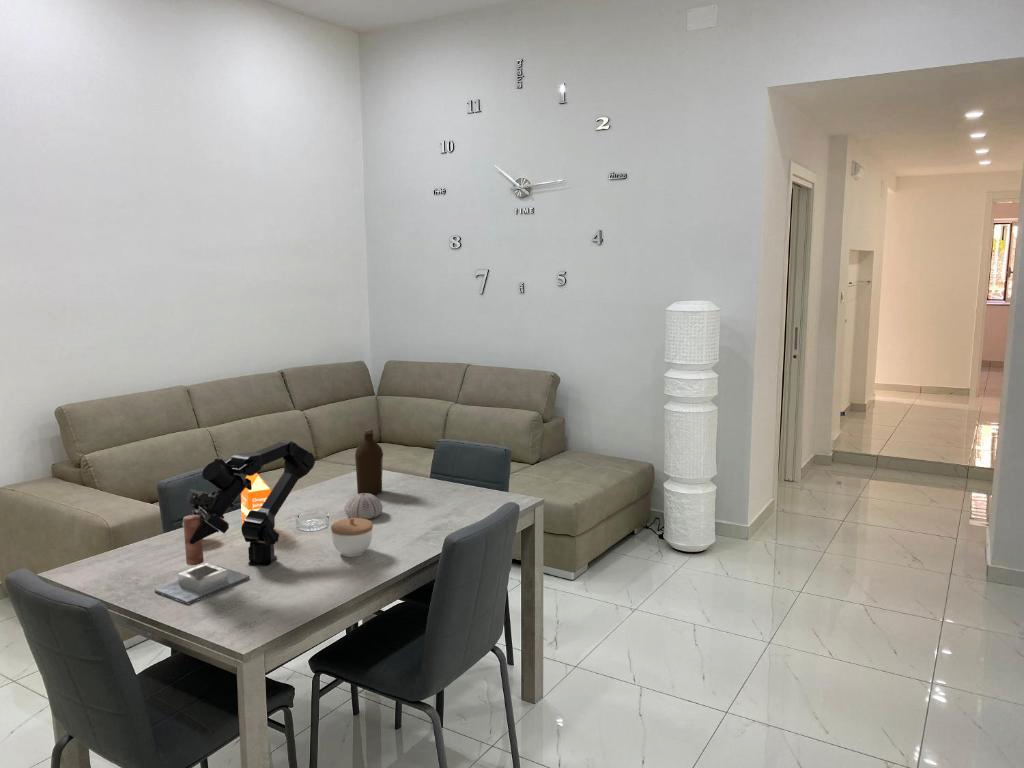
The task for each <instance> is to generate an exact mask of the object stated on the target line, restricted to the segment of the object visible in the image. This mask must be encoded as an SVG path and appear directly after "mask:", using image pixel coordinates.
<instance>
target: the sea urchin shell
mask: <svg viewBox="0 0 1024 768" xmlns="http://www.w3.org/2000/svg"><path fill="white" fill-rule="evenodd" d="M344 512H345V515H346V516H347V517H348V518H362V519H367V520H371V519H374V518H377V517H379V516H380V515H381V514H382V512H383V504H382V502H381V500H380V499H379V498H378V497H377V495H372V494H369V493H361V494H358V493H357V494H356V495H353V496H352V497H351V498H349V500H347V502H346V504H345V507H344Z"/></svg>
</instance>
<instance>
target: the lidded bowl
mask: <svg viewBox="0 0 1024 768" xmlns="http://www.w3.org/2000/svg"><path fill="white" fill-rule="evenodd" d="M373 525H374V524H373V522H372V520H371V519H362V518H350V517H348V518H344V519H338V520H337V521H334V522H333V523H332V524H331V525H330V530H331V538H332V539H331V540H332V544H333V545H334V548H335V549H336V550H337V552H338V553H340V555H341V556H342V557H346V558H354V557H355V556H356V557H360V556H363V555H364V554H365V552H366V551H367V550H368V549H369V547H370V545H371V544H372V543H371V542H372V539H373V527H374V526H373ZM363 553H364V554H363ZM356 557H355V558H356Z"/></svg>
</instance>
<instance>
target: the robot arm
mask: <svg viewBox="0 0 1024 768" xmlns="http://www.w3.org/2000/svg"><path fill="white" fill-rule="evenodd" d="M279 459H282V460H283V461H284V463H283V473H282V474H281V476H280V477H279V478H278V481H277V482H276V484H275V485H274V487H273V488H272V489H271V493H270V494H269V496H268V497H267V499H266V500H265V502H264V504H263V505H262V507H261V508H260V509H259V510H257V511H255V510H251V511H250V512H249V513H248V515H247V517H246V518H245V519H244V520H243V521H244V523H243V525H242V524H241V533H242V536H243V538H244V541H245V543H249V546H248V549H247V550H248V563H247V565H249V566H252V565H253V566H271V564H272V563H273V562H274V561H275V560H276V559H277V557H278V556H277V555H275V545H276V543H278V541H279V538H280V533H279V532H277V531H276V530H275V529H274V528H275V526H276V523H275V520H276V518H275V517H276V516H277V515H278V512H279V511H280V509H281V508H282V506H283V504H284V503H285V502H286V500H287V498H288V497H289V495H290V493H291V492H292V490H293V489H294V487H295V485H296V484H297V482H298V481H299V480H301V479H302V478H303V477H306V476H307V475H308V474H309V473H310V472H311V470H312V469H313V468H314V466H315V464H316V458H315V456H314V454H313V453H312V452H309V451H308V450H307V449H305V448H303V447H300V445H299V444H297V443H296V442H294V441H290V440H280V441H278V442H277V443H274V444H272V445H269V446H267V447H263V448H262V449H259V450H257V451H253V452H241V453H239V452H238V453H235V454H233V455H231V458H230V459H228V460H226V461H224V460H223V459H222V458H217V457H216V458H214V460H213V461H212V462H210V463H208V464H207V465H206V466H205V467H204V468H203V470H202V473H201V476H202V478H203V479H204V480H205V481H206V482H207V483H209V484H211V485H212V486H214V487H215V488H216V489H217V490H215V489H213V490H211V491H210V492H208V493H207V492H205V491H200V490H196V489H193V488H192V489H191V488H190V489H189V492H188V494H187V497H186V498H185V499H186V501H187V502H188V503H189V505H190V507H192V508H193V509H191V512H192V515H200V525H199V527H198V528H197V530H196V531H195V533H194V534H193V536H192V538H191V539H190V541H189V542H190V543H191V544H194V543H196V542H198V541H199V540H201V539H203V540H204V539H205V538H207V537H209V536H212V535H213V534H215V533H219V532H221V533H223V534H226V532H227V531H228V530H229V529H230V524H229V522H227V520H226V519H225V516H224V515H225V513H226V512H227V511H228V510H229V508H230V509H231V508H232V509H233V508H234V506H235V504H234V503H235V501H236V500H237V499H238V498H239V496H241V493H242V492H243V490H244V489H245V488H247V489H249V490H251V489H252V486H251V480H249V479H248V478H246V477H245V478H244V477H242V476H253V475H254V474H256V473H257V474H258V472H260V471H261V470H262V469H263V467H264V466H266V465H267V464H270V463H272V462H275V461H277V460H279Z"/></svg>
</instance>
